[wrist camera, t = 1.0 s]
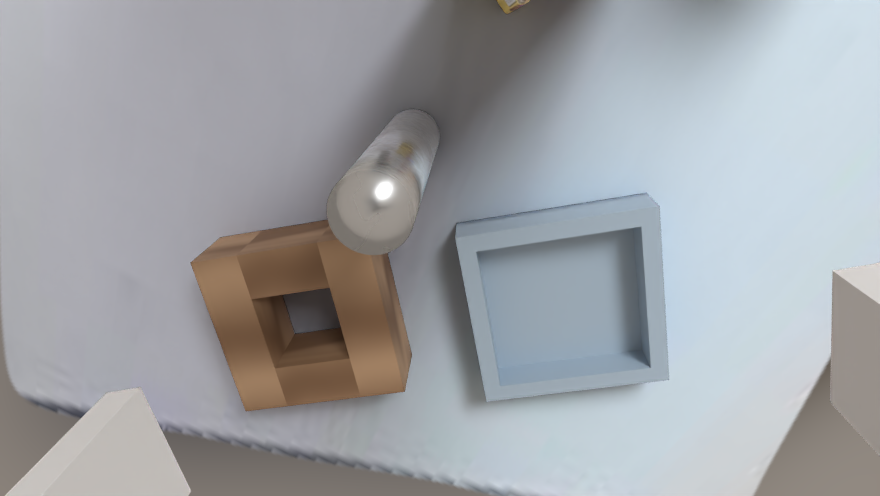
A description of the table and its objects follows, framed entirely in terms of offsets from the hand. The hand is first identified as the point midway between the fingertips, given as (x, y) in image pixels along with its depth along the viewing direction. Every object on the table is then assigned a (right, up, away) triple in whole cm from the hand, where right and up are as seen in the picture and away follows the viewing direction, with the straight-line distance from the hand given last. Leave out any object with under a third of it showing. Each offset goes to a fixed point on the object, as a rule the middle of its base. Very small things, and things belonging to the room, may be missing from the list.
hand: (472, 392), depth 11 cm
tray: (+7, 0, +24) cm, 25 cm away
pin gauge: (-2, +9, +21) cm, 23 cm away
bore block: (-8, 0, +26) cm, 27 cm away
